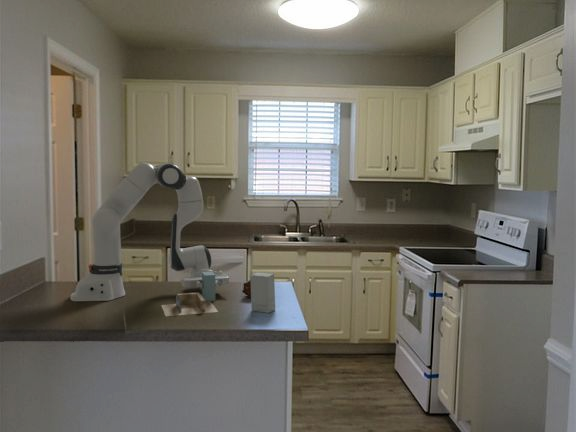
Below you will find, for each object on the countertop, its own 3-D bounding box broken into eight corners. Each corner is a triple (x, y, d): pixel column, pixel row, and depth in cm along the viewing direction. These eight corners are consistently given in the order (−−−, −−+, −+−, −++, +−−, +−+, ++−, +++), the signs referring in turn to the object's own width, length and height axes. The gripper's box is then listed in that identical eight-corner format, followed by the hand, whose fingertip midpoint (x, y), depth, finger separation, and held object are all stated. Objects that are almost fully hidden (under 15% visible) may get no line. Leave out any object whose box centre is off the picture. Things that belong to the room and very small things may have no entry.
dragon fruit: (247, 304, 213) (253, 301, 225) (263, 293, 213) (268, 290, 225) (236, 287, 215) (243, 285, 226) (252, 276, 214) (258, 274, 226)
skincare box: (275, 310, 200) (275, 273, 198) (268, 313, 194) (268, 276, 193) (257, 307, 203) (257, 271, 202) (249, 310, 198) (250, 274, 197)
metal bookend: (179, 312, 190) (179, 301, 190) (175, 306, 200) (175, 295, 199) (181, 312, 191) (181, 301, 190) (177, 305, 200) (177, 294, 200)
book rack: (165, 318, 186) (165, 304, 185) (161, 307, 201) (161, 294, 200) (218, 314, 193) (218, 300, 192) (210, 303, 208) (210, 290, 207)
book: (204, 303, 207) (204, 275, 206) (201, 299, 214) (201, 272, 213) (215, 302, 209) (215, 274, 208) (212, 298, 215) (211, 271, 214)
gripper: (179, 272, 219) (183, 279, 206) (225, 270, 226) (232, 276, 213) (179, 287, 220) (184, 294, 207) (225, 284, 227) (232, 291, 214)
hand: (208, 285), depth 210 cm, fingers closed on book, 4 cm apart
